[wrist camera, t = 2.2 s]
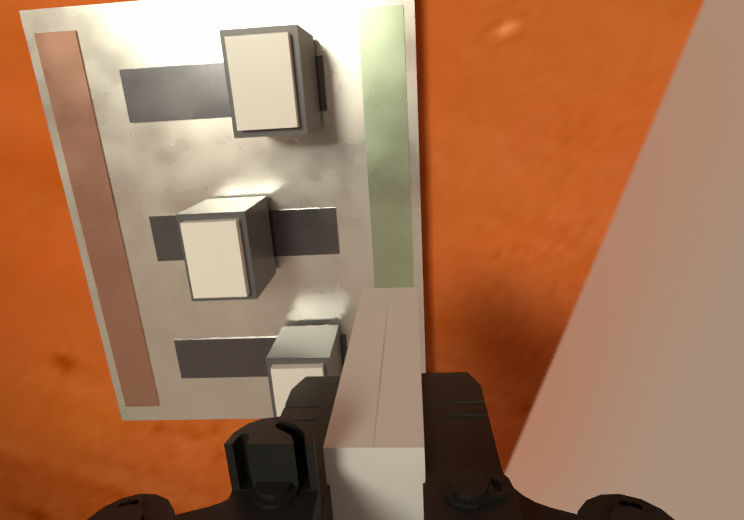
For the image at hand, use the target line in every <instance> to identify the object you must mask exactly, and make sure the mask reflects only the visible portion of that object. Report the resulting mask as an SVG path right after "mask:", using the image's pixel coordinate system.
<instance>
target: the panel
mask: <svg viewBox="0 0 744 520" xmlns="http://www.w3.org/2000/svg"><path fill="white" fill-rule="evenodd" d="M19 12H20V16H21V20H22V24H23V28H24V32H25V36H26V40H27V44H28V48H29V52H30V56H31V60H32V64H33V68H34V72H35V76H36V80H37V84H38V88H39V92H40V96H41V100H42V104H43V108H44V112H45V116H46V120H47V124H48V128H49V132H50V136H51V140H52V144H53V148H54V152H55V156H56V159H57V163H58V167H59V171H60V175H61V179H62V183H63V187H64V191H65V195H66V199H67V203H68V207H69V211H70V215H71V219H72V223H73V227H74V231H75V235H76V239H77V243H78V247H79V251H80V255H81V259H82V263H83V267H84V271H85V275H86V279H87V283H88V287H89V291H90V295H91V299H92V303H93V307H94V311H95V315H96V319H97V323H98V327H99V331H100V334H101V338H102V342H103V346H104V350H105V354H106V358H107V362H108V366H109V370H110V374H111V378H112V382H113V386H114V390H115V394H116V398H117V402H118V406H119V410H120V414H121V418H122V420H187V419H255V418H272V417H274V416H273V409H272V402H271V394H270V387H269V380H268V373H267V366H266V357H267V355H268V353H269V351H270V350H271V348H272V346H273V344H274V342H275V340H276V338H277V336H278V335H279V333H280V331H281V329H282V327H283V326H309V325H339V332H340V344H341V355H342V366H344V362H345V358H346V354H347V350H348V346H349V342H350V338H351V334H352V330H353V326H354V322H355V318H356V314H357V309H358V305H359V301H360V297H361V293H362V289H371V288H404V287H417V290H418V313H419V336H420V358H421V373H426V362H425V329H424V296H423V264H422V231H421V198H420V165H419V133H418V100H417V67H416V35H415V2H414V0H144V1H131V2H119V3H107V4H95V5H83V6H70V7H58V8H46V9H34V10H21V11H19ZM290 24H298V25H299V26H301V27H302V28H303V29H305V30H306V31H307V32H309V33H310V34H312V35H313V38H314V50H315V61H316V72H317V84H318V95H319V106H320V118H321V129H320V130H318V131H315V132H312V133H309V134H300V135H283V136H266V137H249V138H234V133H233V126H232V119H231V112H230V104H229V97H228V90H227V83H226V76H225V69H224V62H223V55H222V48H221V41H220V34H219V30H225V29H238V28H251V27H264V26H277V25H290ZM256 196H267V204H268V212H269V220H270V228H271V236H272V244H273V252H274V260H275V267H276V274H275V275H274V277H273V278H272V280H271V281H270V282H269V284H268V285H267V286H266V288H265V289H264V290H263V292H262V293H261V295H260V296H259V297H258V299H249V300H219V301H192V299H191V294H190V288H189V283H188V278H187V272H186V267H185V261H184V256H183V250H182V245H181V240H180V234H179V229H178V223H177V218H176V214H178V213H180V212H182V211H184V210H186V209H188V208H190V207H192V206H194V205H196V204H198V203H200V202H202V201H204V200H206V199H216V198H236V197H256Z"/></svg>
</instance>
